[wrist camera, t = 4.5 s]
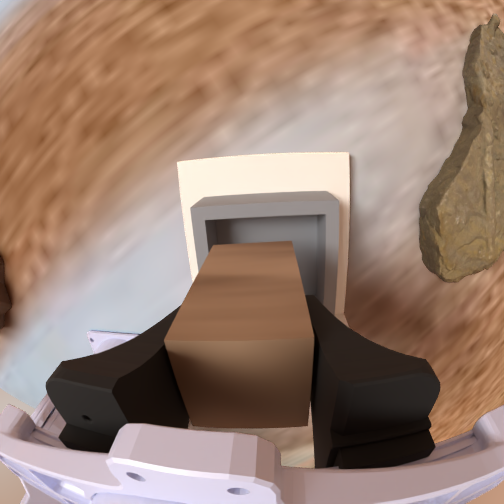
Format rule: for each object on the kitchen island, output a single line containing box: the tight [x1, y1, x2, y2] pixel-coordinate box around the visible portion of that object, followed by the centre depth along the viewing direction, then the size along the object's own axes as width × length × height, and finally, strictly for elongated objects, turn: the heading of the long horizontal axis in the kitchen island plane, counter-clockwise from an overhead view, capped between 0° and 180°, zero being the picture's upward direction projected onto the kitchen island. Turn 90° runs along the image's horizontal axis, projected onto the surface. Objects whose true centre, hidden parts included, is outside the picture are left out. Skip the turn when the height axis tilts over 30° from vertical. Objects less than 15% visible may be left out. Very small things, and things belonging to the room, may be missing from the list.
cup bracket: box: [177, 152, 350, 327], centre depth 20 cm, size 14×12×5 cm
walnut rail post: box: [164, 241, 314, 428], centre depth 12 cm, size 4×4×8 cm
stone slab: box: [419, 14, 504, 282], centre depth 16 cm, size 27×12×5 cm, turn 165°
